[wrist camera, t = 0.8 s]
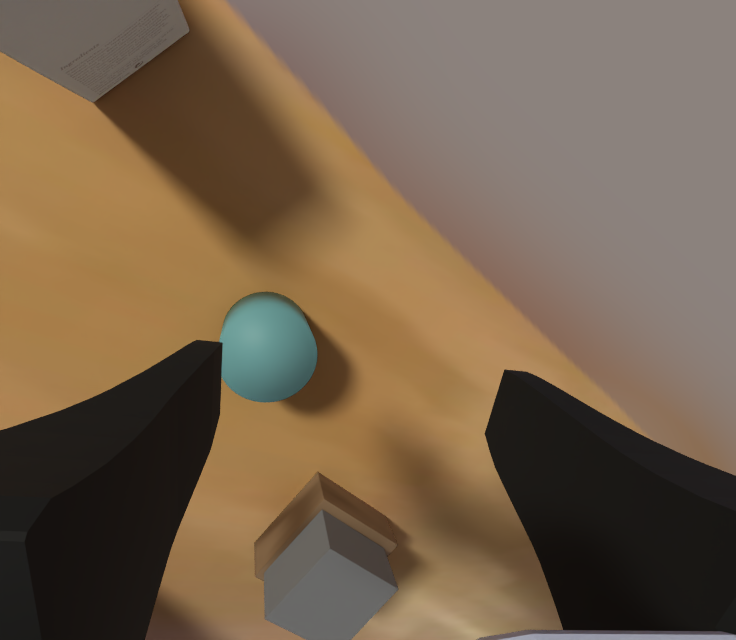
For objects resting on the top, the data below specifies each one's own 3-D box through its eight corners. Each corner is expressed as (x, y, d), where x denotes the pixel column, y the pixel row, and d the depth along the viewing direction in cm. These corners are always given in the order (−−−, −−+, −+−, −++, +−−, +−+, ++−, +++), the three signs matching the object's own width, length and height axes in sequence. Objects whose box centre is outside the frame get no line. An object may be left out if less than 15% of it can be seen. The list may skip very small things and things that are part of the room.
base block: (325, 577, 31) (333, 616, 28) (254, 539, 29) (254, 576, 26) (384, 512, 31) (397, 545, 28) (316, 468, 29) (324, 498, 26)
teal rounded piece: (271, 387, 26) (274, 419, 22) (203, 339, 25) (195, 365, 21) (324, 326, 26) (336, 349, 22) (259, 274, 24) (261, 289, 21)
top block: (328, 607, 28) (337, 654, 25) (263, 572, 26) (264, 618, 23) (383, 548, 28) (398, 589, 25) (322, 509, 26) (330, 548, 23)
